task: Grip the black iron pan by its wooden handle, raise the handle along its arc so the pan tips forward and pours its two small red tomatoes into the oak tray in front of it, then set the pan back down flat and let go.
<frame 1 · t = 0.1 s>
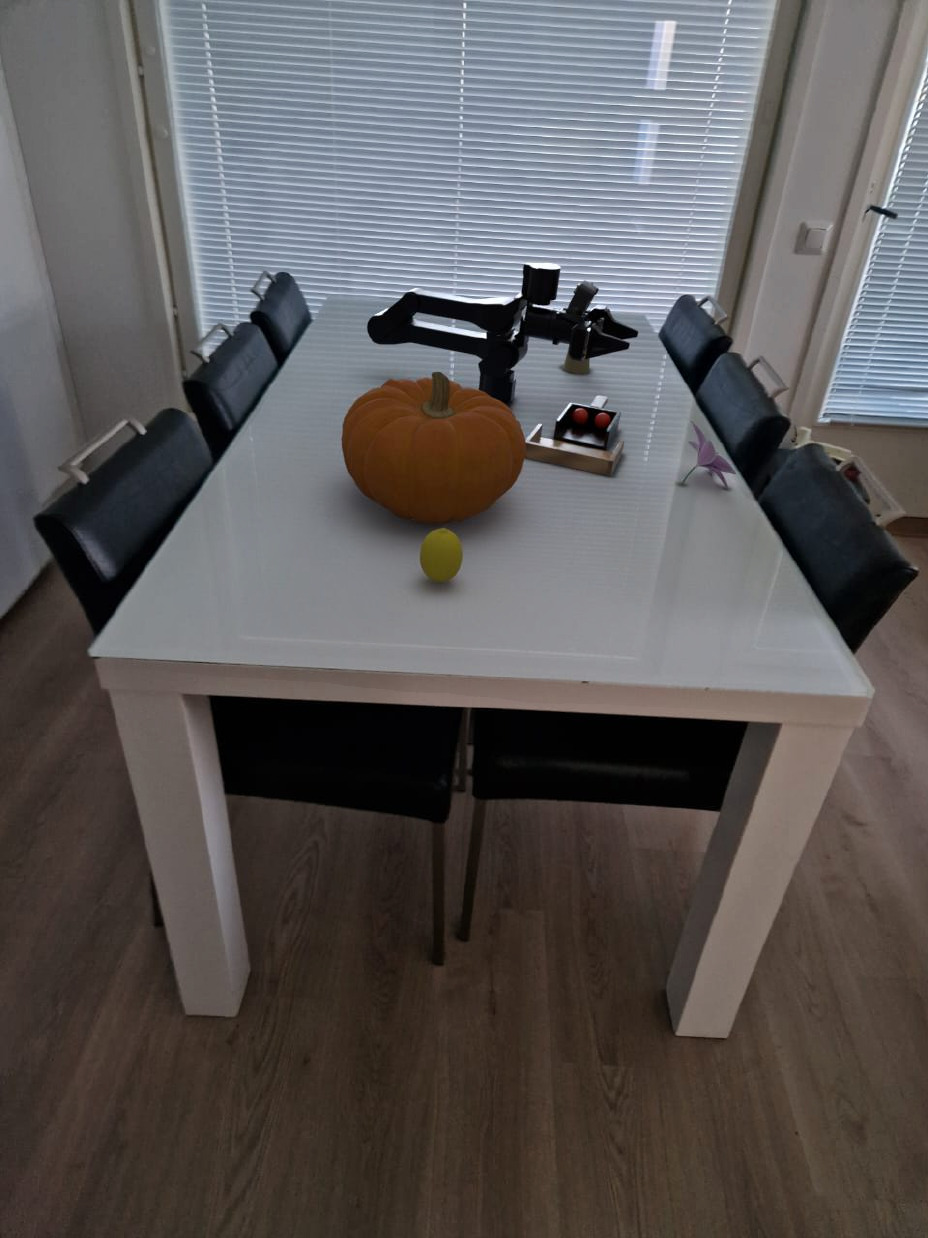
hand: (633, 339, 153), 17 cm above the table, tool horizontal, fingers open, 9 cm apart
pumpkin: (430, 500, 129), on the table
lily: (701, 483, 143), on the table
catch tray: (572, 456, 148), on the table
lemon: (439, 583, 109), on the table
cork: (575, 370, 190), on the table
tomato a: (602, 420, 157), point 2 cm above the table, touching pan
pan: (591, 419, 158), point 2 cm above the table, hinge at -0.1°, touching tomato a, tomato b
tomato b: (580, 416, 158), point 2 cm above the table, touching pan
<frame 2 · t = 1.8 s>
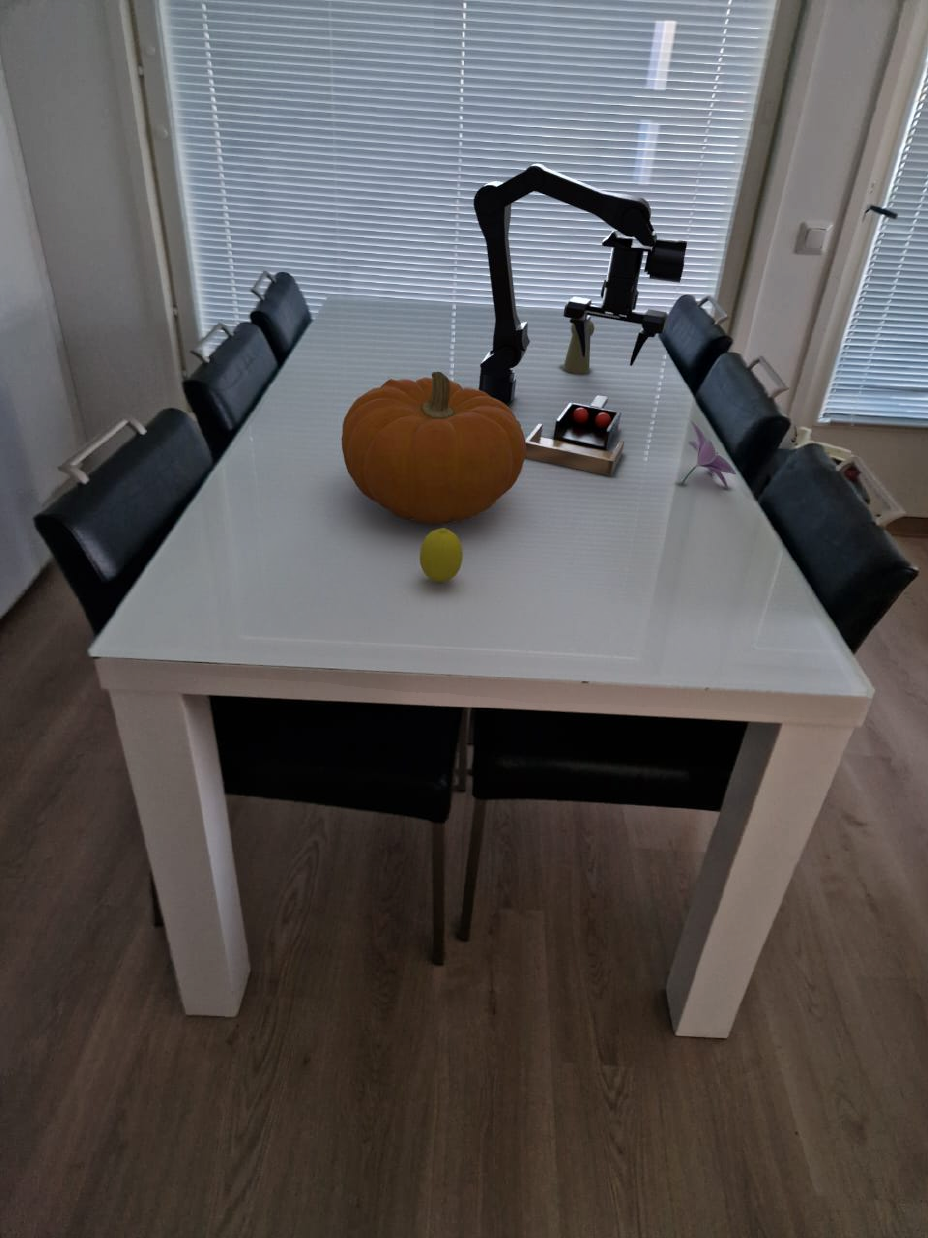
hand: (607, 360, 159), 11 cm above the table, tool pointing down, fingers open, 9 cm apart
tomato a: (603, 420, 157), point 2 cm above the table, tilted 15°, touching pan
tomato b: (580, 415, 158), point 2 cm above the table, tilted 15°, touching pan
everything else where it was.
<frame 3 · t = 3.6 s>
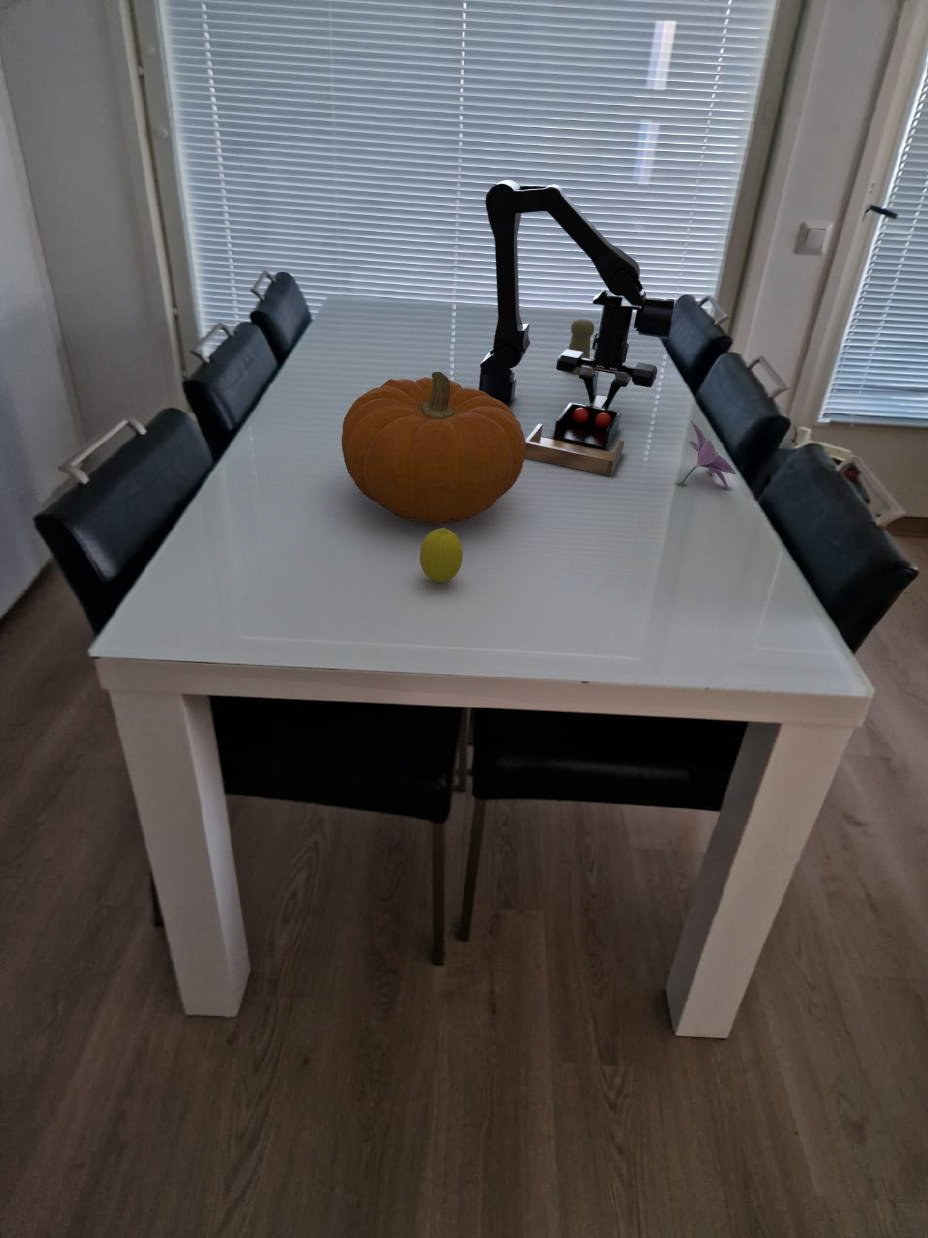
hand: (599, 410, 164), 1 cm above the table, tool pointing down, fingers closed on pan, 2 cm apart
pan: (591, 419, 158), point 2 cm above the table, hinge at -0.1°, touching gripper, tomato a, tomato b
everything else where it was.
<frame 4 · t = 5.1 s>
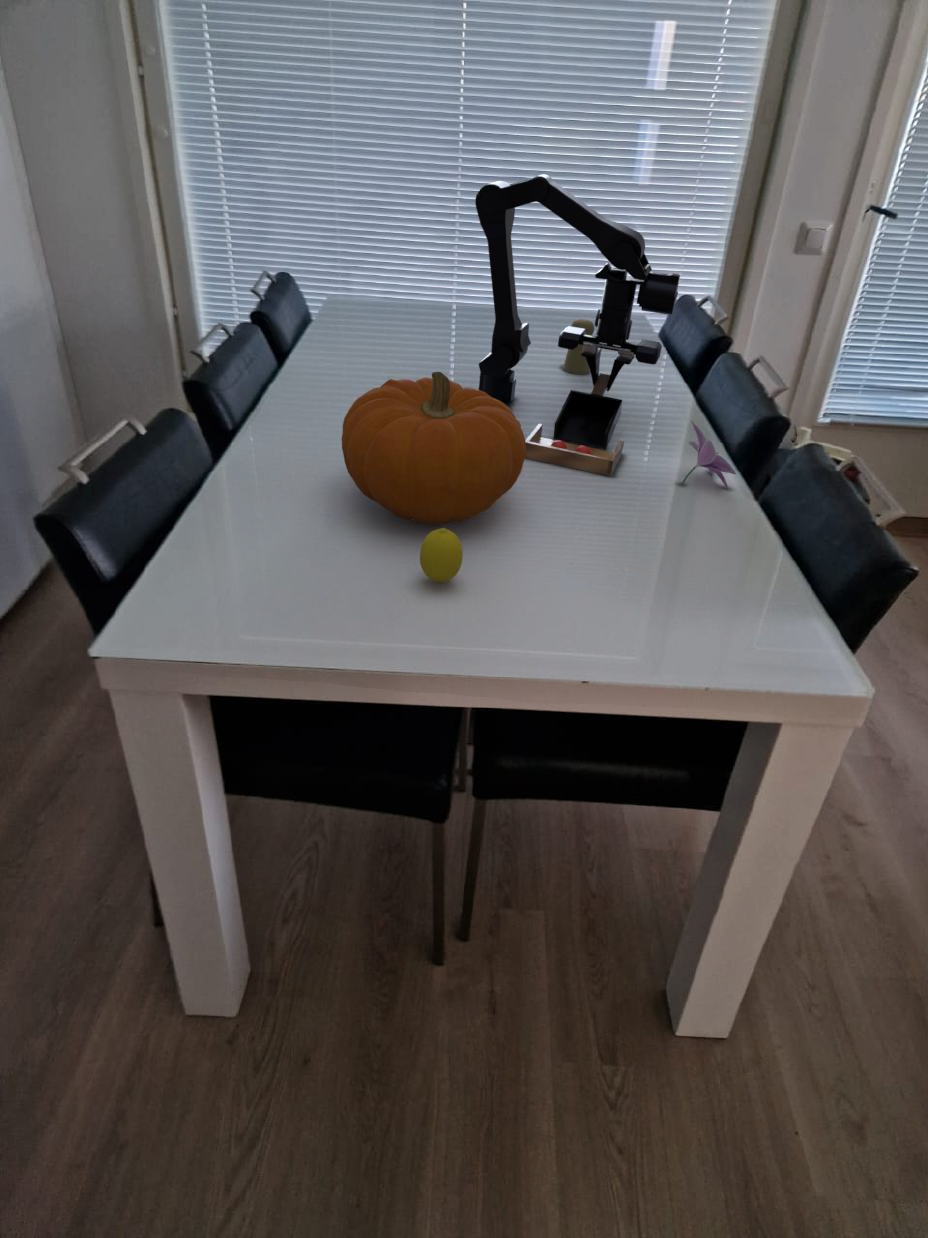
hand: (601, 389, 160), 6 cm above the table, tool pointing down, fingers closed on pan, 2 cm apart
tomato a: (582, 454, 144), point 2 cm above the table, tilted 69°, touching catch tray
pan: (592, 408, 156), point 5 cm above the table, hinge at 16.1°, touching gripper
tomato b: (558, 449, 145), point 2 cm above the table, tilted 71°, touching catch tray
everything else where it was.
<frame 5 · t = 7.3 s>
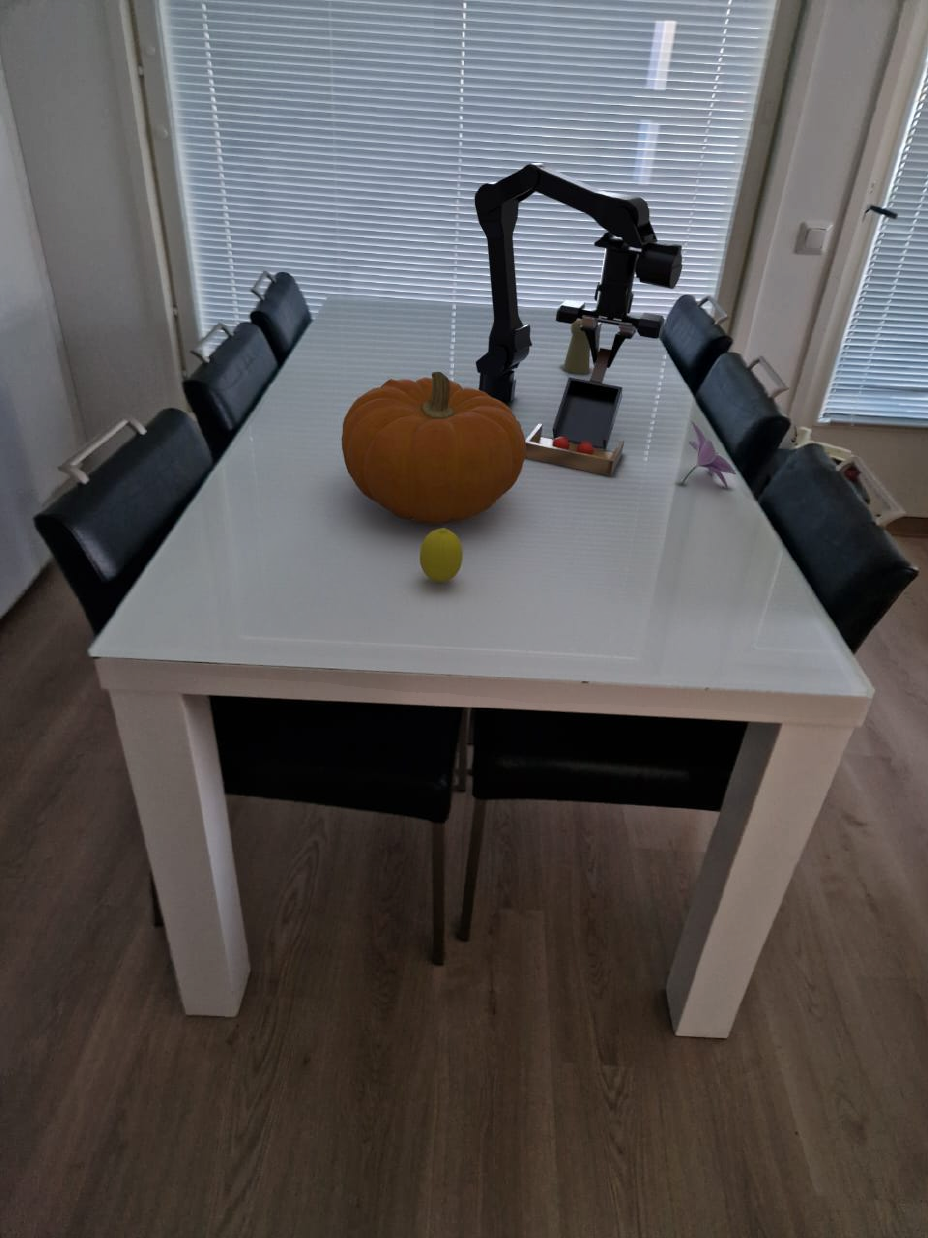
hand: (602, 366, 153), 12 cm above the table, tool pointing down, fingers closed on pan, 2 cm apart
tomato a: (585, 450, 146), point 2 cm above the table, tilted 142°, touching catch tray
pan: (592, 396, 152), point 8 cm above the table, hinge at 41.6°, touching gripper
tomato b: (561, 445, 147), point 2 cm above the table, tilted 144°, touching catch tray
everything else where it was.
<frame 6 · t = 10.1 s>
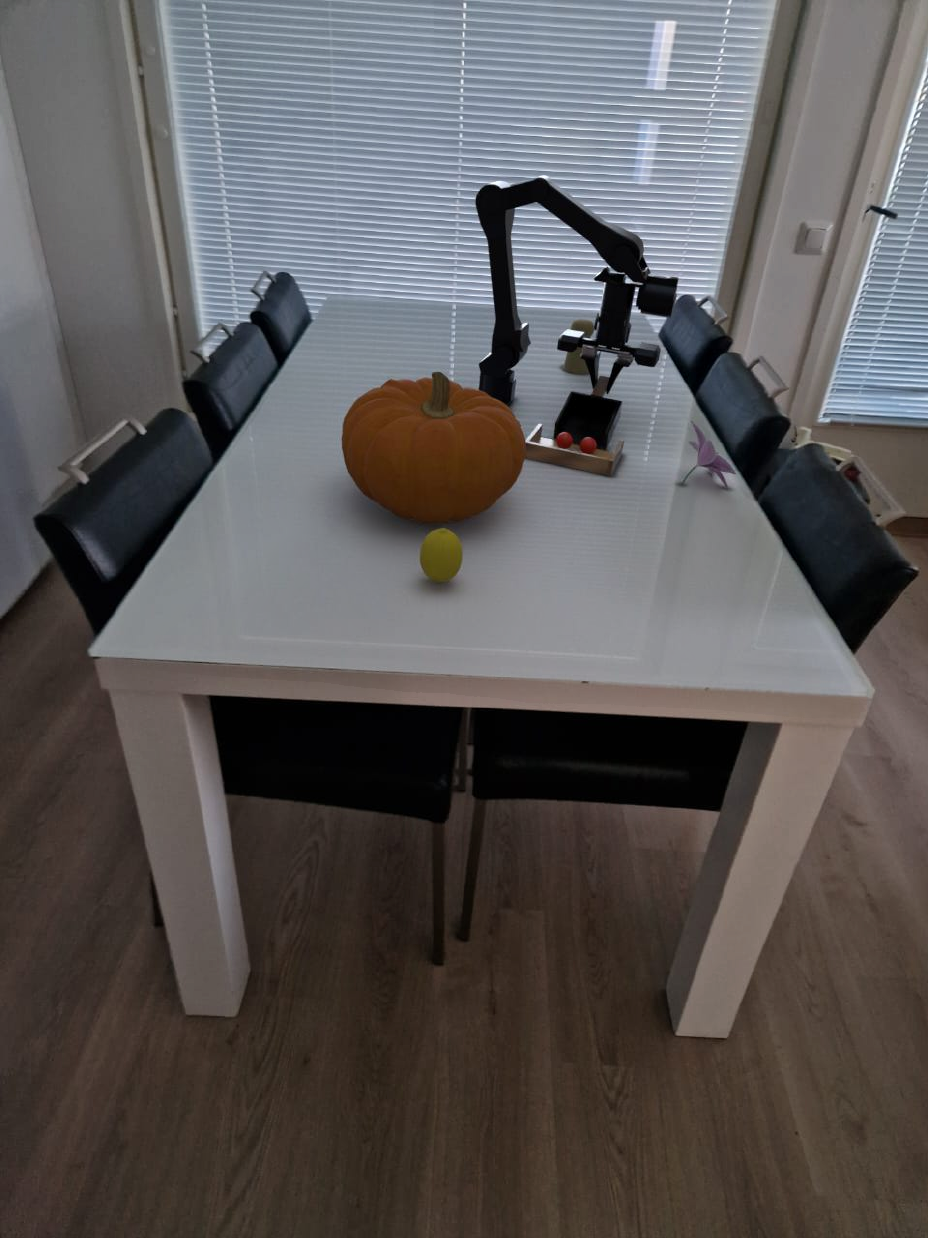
hand: (601, 392, 161), 6 cm above the table, tool pointing down, fingers closed on pan, 2 cm apart
tomato a: (588, 445, 148), point 2 cm above the table, tilted 126°, touching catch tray
pan: (592, 409, 156), point 4 cm above the table, hinge at 14.3°, touching gripper
tomato b: (564, 440, 149), point 2 cm above the table, tilted 122°, touching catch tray
everything else where it was.
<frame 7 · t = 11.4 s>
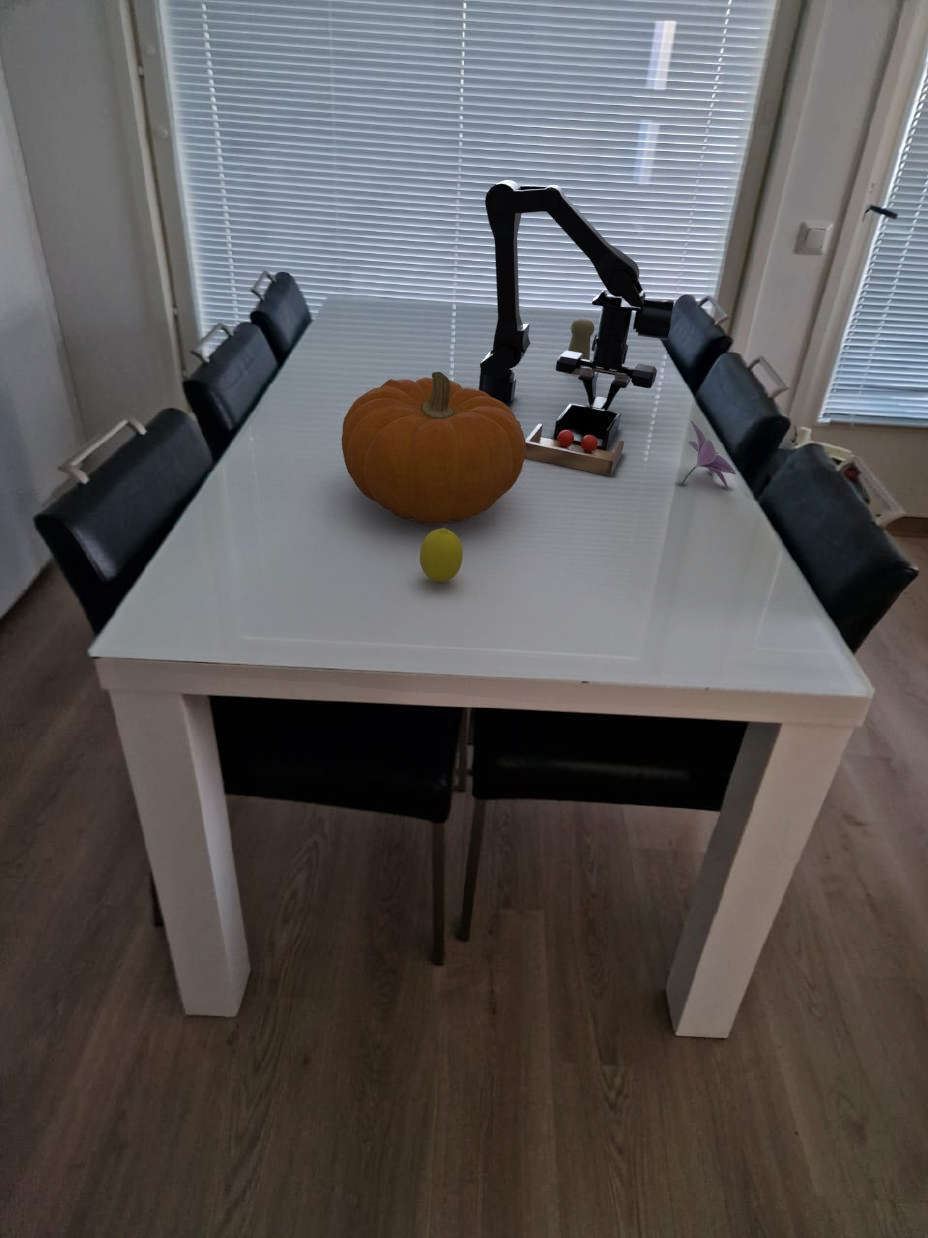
hand: (598, 411, 164), 1 cm above the table, tool pointing down, fingers closed on pan, 2 cm apart
tomato a: (589, 443, 148), point 2 cm above the table, tilted 83°, touching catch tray
pan: (591, 419, 158), point 2 cm above the table, hinge at -1.0°, touching gripper
tomato b: (565, 438, 149), point 2 cm above the table, tilted 78°, touching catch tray
everything else where it was.
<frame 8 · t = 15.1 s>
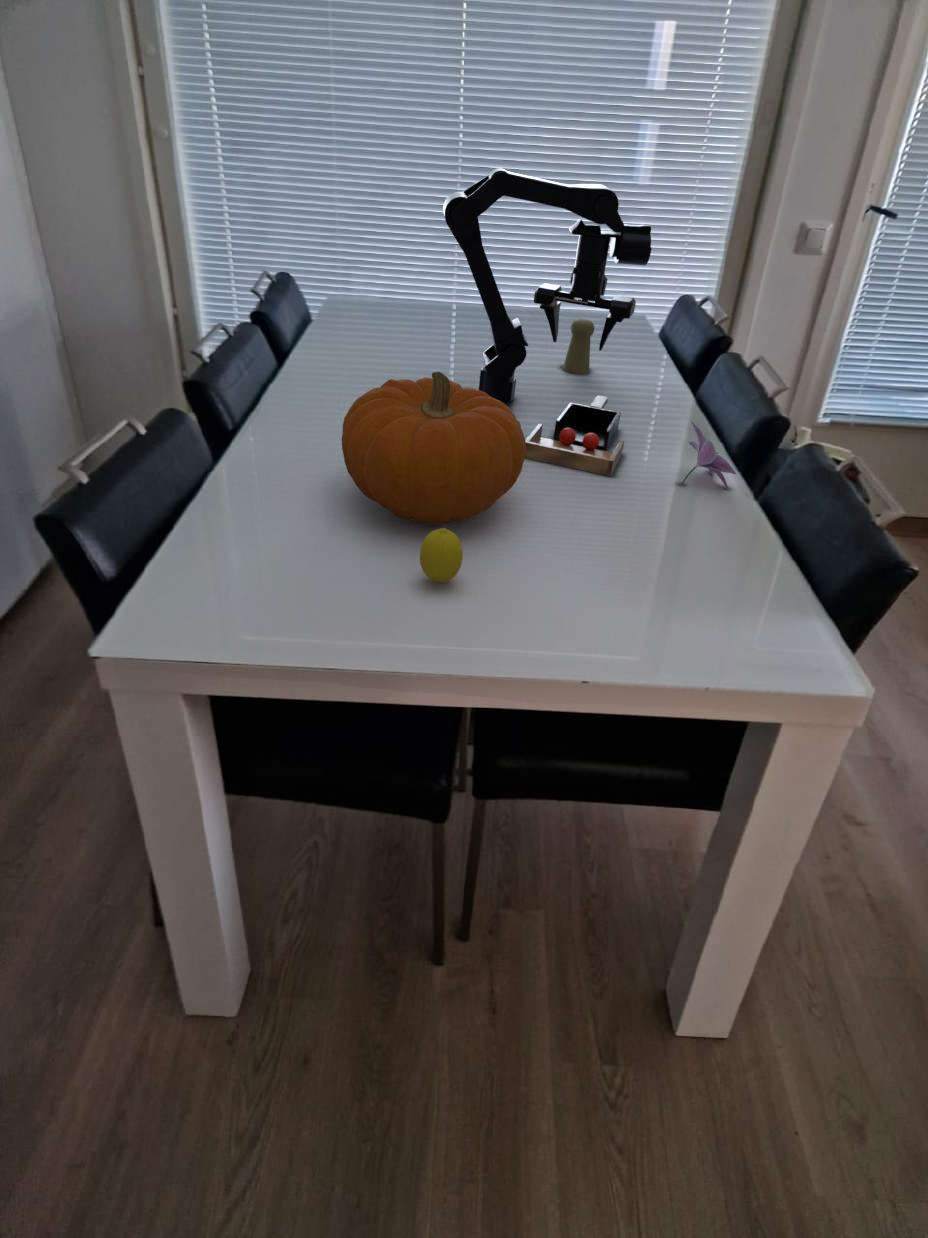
hand: (577, 345, 163), 12 cm above the table, tool pointing down, fingers open, 9 cm apart
tomato a: (591, 441, 149), point 2 cm above the table, tilted 34°, touching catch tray
pan: (591, 419, 158), point 2 cm above the table, hinge at -0.1°
tomato b: (567, 436, 151), point 2 cm above the table, tilted 28°, touching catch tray
everything else where it was.
at the end: tomato a inside the target area on the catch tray (4.7 cm from its centre), point 1.8 cm above the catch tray's base; tomato b inside the target area on the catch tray (4.8 cm from its centre), point 1.8 cm above the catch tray's base; pan at +0° (first picture: +0°) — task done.
